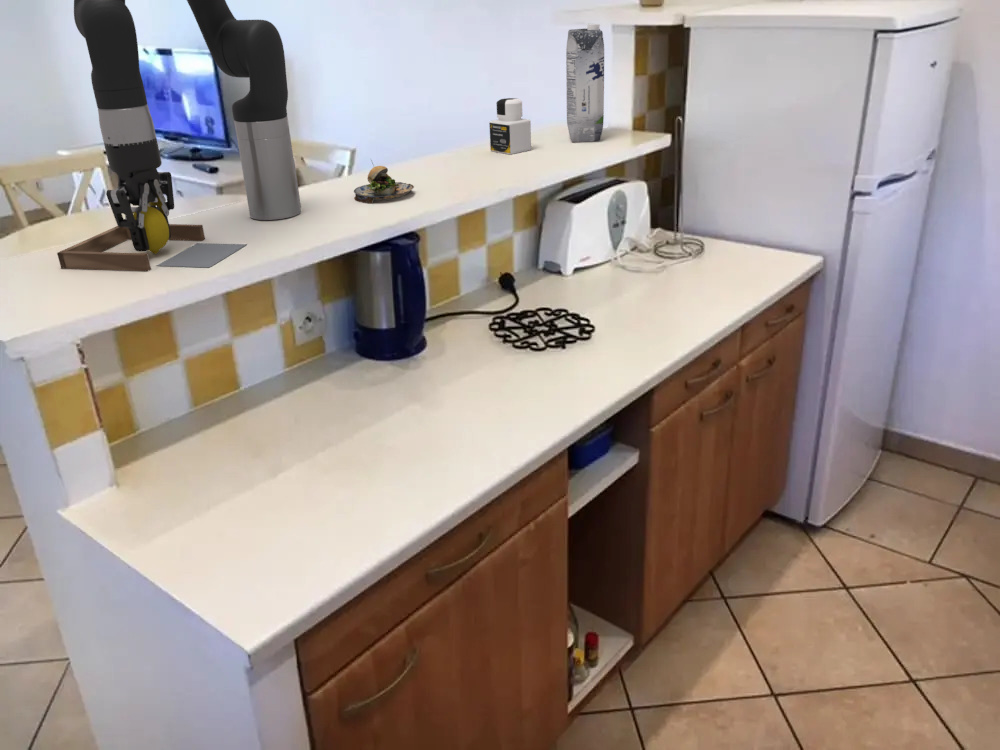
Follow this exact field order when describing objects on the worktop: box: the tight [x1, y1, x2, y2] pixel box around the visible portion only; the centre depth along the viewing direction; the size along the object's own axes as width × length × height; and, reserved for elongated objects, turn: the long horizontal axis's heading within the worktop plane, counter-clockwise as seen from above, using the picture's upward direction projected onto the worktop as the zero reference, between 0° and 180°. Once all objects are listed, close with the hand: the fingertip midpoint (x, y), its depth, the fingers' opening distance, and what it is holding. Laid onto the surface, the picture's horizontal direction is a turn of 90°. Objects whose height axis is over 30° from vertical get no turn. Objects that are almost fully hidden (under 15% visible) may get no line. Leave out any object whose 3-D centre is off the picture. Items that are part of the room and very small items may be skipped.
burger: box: [353, 159, 415, 205], centre depth 165 cm, size 12×12×8 cm
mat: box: [155, 242, 247, 269], centre depth 135 cm, size 12×9×1 cm
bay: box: [56, 223, 206, 272], centre depth 137 cm, size 17×15×2 cm
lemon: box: [133, 205, 169, 255], centre depth 135 cm, size 6×6×8 cm
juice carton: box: [565, 23, 605, 143], centre depth 208 cm, size 9×10×27 cm
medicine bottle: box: [488, 97, 532, 155], centre depth 201 cm, size 7×7×12 cm
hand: (153, 244), depth 136 cm, fingers closed on lemon, 5 cm apart
